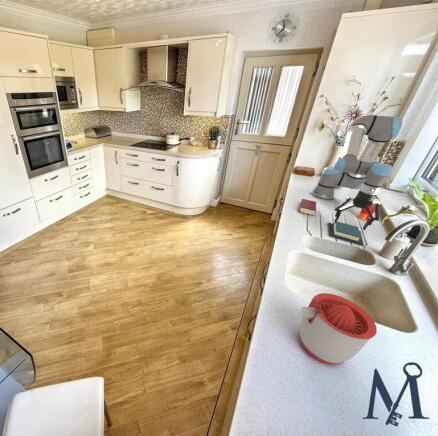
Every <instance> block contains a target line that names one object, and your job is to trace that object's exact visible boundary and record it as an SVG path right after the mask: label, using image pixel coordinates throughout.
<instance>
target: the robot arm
mask: <svg viewBox="0 0 438 436" xmlns="http://www.w3.org/2000/svg"><path fill="white" fill-rule="evenodd" d="M402 126H403V118H402V117H398V116H394V115H393V116H388V115H376V114H367V115H363V116H361V117H358V118H357V119H354V121H352V122H351V123H350V124H349V126H348V127H347V129H346V139H345V143H344V145H343V150H342V152H341V156H340V157H337V158H336V159H335V161H334V164H333V166H327V167H324V169H323V171H322V172H321V174H320V177H319V179H318V182H317V184H316V185H315V186H314V188H312V189H311V192H310V194H311V195H312V196H313V197H316V198H319V199H323V200H332V199H333V198H334V197H335V189H336V188H338V187H342V188H347V189H350V190H358V191H357V193H356V196H355V197H354V198H353V197H351V196H347V198H346V199H345V200H343V201H342V202H341V203H338V204H337V205H336V206H334V208H333V209H334V212H335V214H334V217H335V218H334V222H335V223H336V222H338V220H339V218H340V216H341V215H342V212H344V211H346V210H349V209H351V208H355V207H356V208H357V209H360V210H362V209H364V208H366V210H367V212H368V214H369V216H370V218H368V220H367V221H366V222H365V223H364V225H363V227H362V230H363V231H366V229H368V226H371V225H372V224H373V222H375V221H376V222H379V221H380V215H379V207H380V205H379V203H373V200H374V199H376V197H377V194H379V192H380V191H381V188H382V186H383V185H384V183H385V182H386V180H387V178H388V177H389V175H391V172H392V170H393V166H392V165H390V164H388V163H385V162H384V163H383V162H380V161H374V160H375V159H376V158H377V156H378V154H379V153H380V151H381V150H382V148H383V147H384V145H385V144H387V143H389V142H390V141H391V139H396V138H397V137H398V136H399V134H400V132H401V128H402ZM364 136H366V139H367V141H366V142H365V145H364V146H363V148H362V149H361V145H362V142H363V138H364ZM360 149H361V150H360ZM349 202H350V203H349ZM348 203H349V204H348ZM371 205H373V207H374V210H375V212H374V216H373V214H371V212H370V209H369V206H371Z"/></svg>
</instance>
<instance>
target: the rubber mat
mask: <svg viewBox="0 0 438 436" xmlns="http://www.w3.org/2000/svg"><path fill="white" fill-rule="evenodd" d="M333 224H334V223H333V222H332V223H331V222H328V236H329V237H331V238H335V239H338V240H342V241H345V242H348V243H352V244H355V245H359V246H363V247H364V241H363V237H362V234H361V231H360V230H359V233H360V237H361V238H359V240H358V242H356V241H353V240H349V239H346V238H342V237H339V236H335V235H334V231H333Z"/></svg>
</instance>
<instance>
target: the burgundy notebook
mask: <svg viewBox="0 0 438 436" xmlns="http://www.w3.org/2000/svg"><path fill="white" fill-rule="evenodd" d="M316 211H317V201H314V200H311V199H306V198H301V201H300V202H299V208H298V213H301V214H305V215H308V216H313V217H314V215H315V213H316Z"/></svg>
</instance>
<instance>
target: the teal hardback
mask: <svg viewBox="0 0 438 436" xmlns="http://www.w3.org/2000/svg"><path fill="white" fill-rule="evenodd" d="M332 224H333V231H334V235H335V236H339V237H342V238H346V239H349V240H353V241H356V242H358V240H359V238H361V237H362V236H361V237H360V233H361V232H360V233H359V231H360V229H359V226H356V225H351V224H348V223H344V222H340V221H337V222H336V223H335V221H334V222H333V223H332Z"/></svg>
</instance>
